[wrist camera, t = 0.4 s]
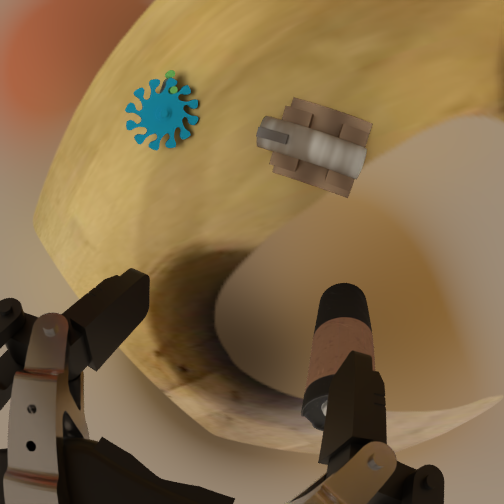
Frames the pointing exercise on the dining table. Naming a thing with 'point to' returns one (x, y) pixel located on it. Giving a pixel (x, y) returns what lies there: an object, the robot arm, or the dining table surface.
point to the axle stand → (316, 145)
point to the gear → (162, 112)
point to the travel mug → (335, 344)
